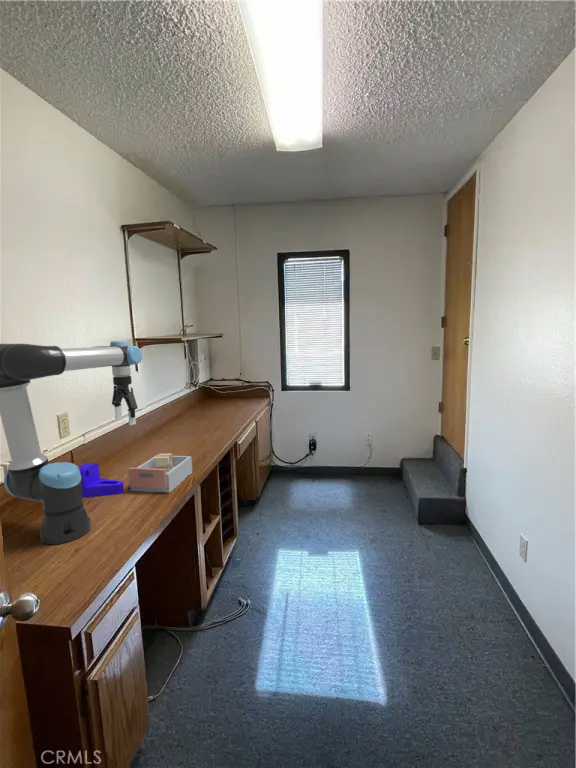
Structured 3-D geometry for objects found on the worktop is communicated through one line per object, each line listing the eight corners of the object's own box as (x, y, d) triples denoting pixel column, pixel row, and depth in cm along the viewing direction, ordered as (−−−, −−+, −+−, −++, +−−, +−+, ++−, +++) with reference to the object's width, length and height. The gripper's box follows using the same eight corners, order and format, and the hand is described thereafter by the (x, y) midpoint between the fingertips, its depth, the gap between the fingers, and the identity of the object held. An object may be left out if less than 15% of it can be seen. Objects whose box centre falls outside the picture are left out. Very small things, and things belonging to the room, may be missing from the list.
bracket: (75, 497, 159) (72, 470, 158) (90, 486, 170) (88, 461, 168) (116, 498, 158) (114, 470, 156) (129, 487, 168) (127, 461, 167)
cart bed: (168, 494, 160) (167, 475, 159) (128, 491, 163) (126, 473, 162) (192, 472, 184) (191, 456, 183) (157, 470, 187) (155, 455, 186)
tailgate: (163, 470, 158) (165, 469, 160) (127, 468, 161) (130, 467, 163) (165, 489, 159) (167, 487, 161) (129, 487, 162) (131, 485, 164)
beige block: (168, 472, 177) (167, 457, 176) (156, 472, 177) (154, 458, 176) (172, 467, 183) (171, 453, 182) (160, 467, 183) (159, 453, 182)
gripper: (143, 376, 165) (146, 424, 167) (118, 373, 181) (121, 417, 184) (126, 378, 159) (130, 428, 162) (101, 374, 176) (105, 420, 179)
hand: (125, 422), depth 173 cm, fingers open, 13 cm apart
